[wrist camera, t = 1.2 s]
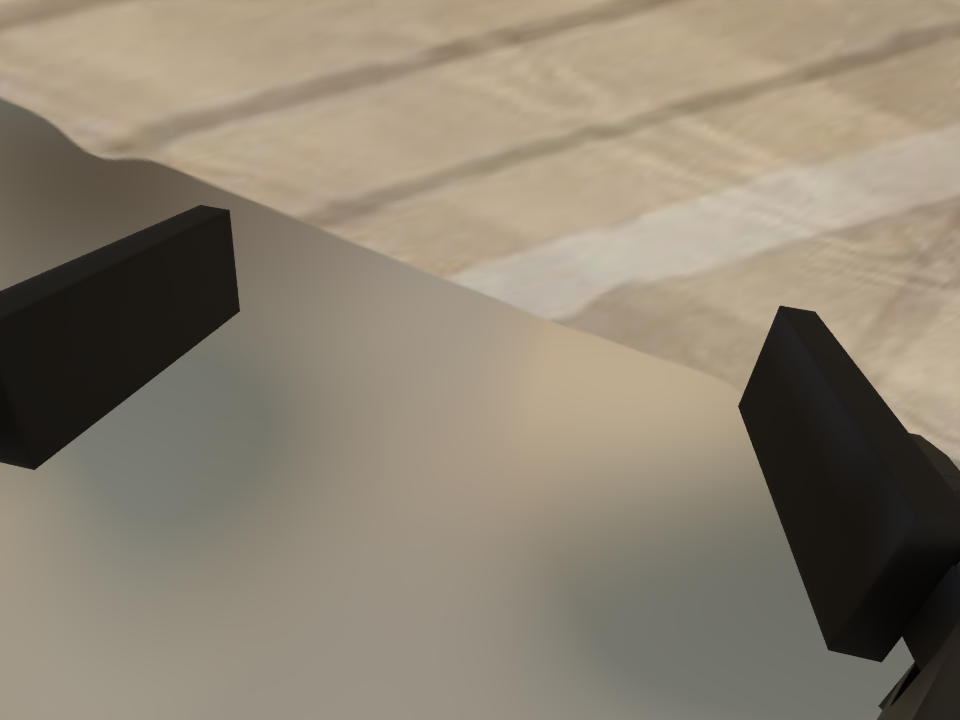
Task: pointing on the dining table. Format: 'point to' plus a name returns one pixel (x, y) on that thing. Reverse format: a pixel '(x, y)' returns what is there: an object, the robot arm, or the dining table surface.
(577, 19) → the dining table surface
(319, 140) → the dining table surface
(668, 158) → the dining table surface
